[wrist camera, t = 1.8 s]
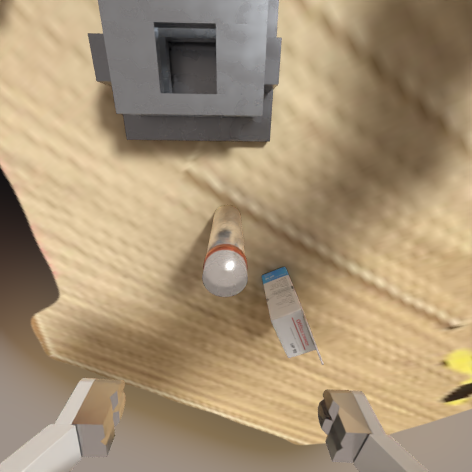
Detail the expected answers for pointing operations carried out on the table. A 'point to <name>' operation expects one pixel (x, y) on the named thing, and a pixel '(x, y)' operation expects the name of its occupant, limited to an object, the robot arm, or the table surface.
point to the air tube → (225, 254)
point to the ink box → (287, 314)
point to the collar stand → (190, 67)
